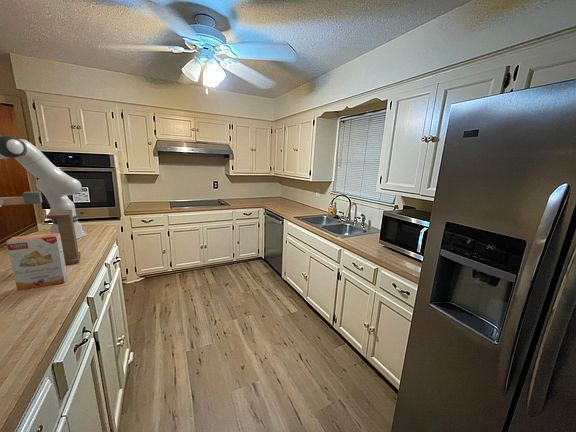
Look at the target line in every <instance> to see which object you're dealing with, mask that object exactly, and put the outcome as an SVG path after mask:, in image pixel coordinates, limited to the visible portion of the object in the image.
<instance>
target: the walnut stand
mask: <svg viewBox="0 0 576 432" xmlns="http://www.w3.org/2000/svg"><path fill="white" fill-rule="evenodd" d="M45 218H46V220H52V219H55V218H56V219H57V224H58V230H59V233H60V237H61V243H62V248H63V254H64V259H65V265H66V266H71V265H75V264H80V262H81V256H82V254H81V251H79V246H78V242H77V241H78V240H77V239H76V234H75V228H74V222H73V216H72V210H60V211H51V210H50V211H49V212H48V213H47V214H46V215H45Z"/></svg>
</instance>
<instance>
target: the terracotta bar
mask: <svg viewBox="0 0 576 432" xmlns="http://www.w3.org/2000/svg"><path fill="white" fill-rule="evenodd" d="M1 199H2V200H3V201H5V203H3V204H1V205H2V206H11V205H12V206H15V205H36V204H39V205H40V204H42V203H43V202H44V201H43V195H42V192H41V191H40V190H39V191H24V192H22V196H7V197H6V196H5V197H4V196H3V197H2V196H1V197H0V200H1Z"/></svg>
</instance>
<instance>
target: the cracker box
mask: <svg viewBox="0 0 576 432" xmlns="http://www.w3.org/2000/svg"><path fill="white" fill-rule="evenodd" d="M5 242H6V246H7V251H8V254H9V260H10V264H11V268H12V273H13V277H14V282H15V285H16V290H17V292H21V291H26V290H32V289H39V288H44V287H50V286H56V285H57V286H58V285H61V284H63V283H64V284H65V283H66V281H67V280H68V278H69V277H68V272H67V267H66V266H67V265H65V259H64V254H63V248H62V243H61V237H60V233H54V234H51V233H43V234H34V235H33V234H32V235H20V236H12V237H11V238H9V239H7V240H6V241H5Z"/></svg>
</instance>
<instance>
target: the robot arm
mask: <svg viewBox="0 0 576 432" xmlns="http://www.w3.org/2000/svg"><path fill="white" fill-rule="evenodd" d="M6 159H15V160H16V161H17V162H18V164H20V165H21V166H22V167H23V168H24V169H25V170H27V172H28V173H29V174H30V175H32V176H33V177H35V178H37V180H36V182H35V186H36V188H37V190H39V191H41V194H43V195H44V197H45V199H46V200H47V203H48V204H49V207H50V211H60V210H72V216H73V222H74V228H75V234H76V240H77V239H80V238H84V237H87V236H88V234H87V233H86V231H85V230H84V228H83V226H82V224H81V223H80V222H79V218H78V215H77V213H76V212H77V211H76V206H75V205H76V204H75V203H74V202H73V201H72V200H71V199H70V198H69V197H68V196H72V195H78V194H79V193H80V192H81V191H82V184H81V181H79V179H77V178H74V177H72V176H70V175H68V174H67V173H65V172H64V171H63V170H62V169H60V168H58V167H57V166H56V165H54V164H53V163H52V162H51V161H50V159H49V158H48V157H47V156H46V155H45V154H44V153H43V152H42V151H41V150H40V149H39V148H37V146H35V145H33V144H32V143H31V142H30V141H28V140H26V139H23V138H17V137H14V136H12V135H11V136H10V135H3V134H2V135H0V160H6ZM3 203H5V201H3V200H2V199H1V200H0V208H1V207H2V206H3V205H1V204H3ZM51 222H52V224H51V226H49V229H50V234H54V233H59V230H58V224H57V219H56V218H55V219H51Z"/></svg>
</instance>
